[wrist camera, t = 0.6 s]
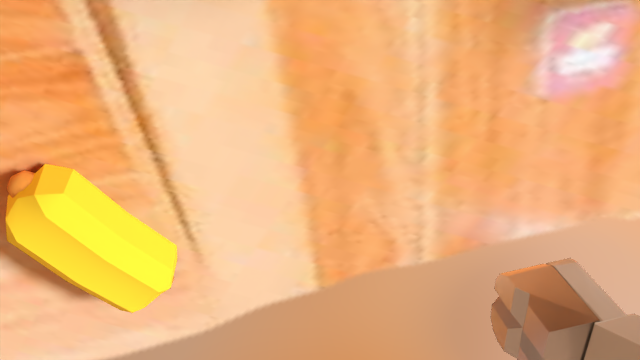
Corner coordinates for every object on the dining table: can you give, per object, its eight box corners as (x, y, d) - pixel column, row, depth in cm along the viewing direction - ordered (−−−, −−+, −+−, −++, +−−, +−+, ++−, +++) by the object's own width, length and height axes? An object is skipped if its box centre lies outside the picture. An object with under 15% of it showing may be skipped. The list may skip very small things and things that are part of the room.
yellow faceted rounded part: (46, 137, 48) (-16, 191, 49) (31, 181, 42) (-39, 240, 44) (197, 251, 57) (142, 293, 59) (200, 298, 52) (139, 343, 53)
